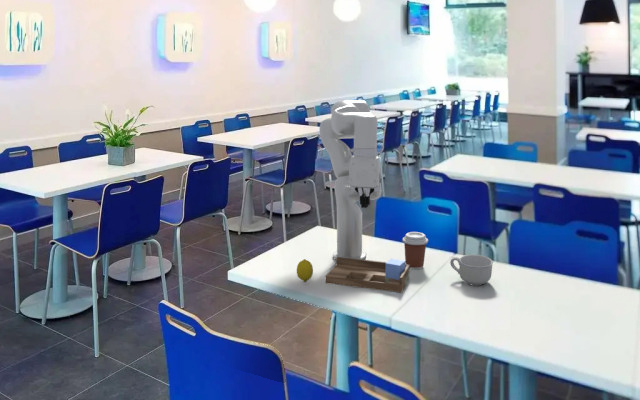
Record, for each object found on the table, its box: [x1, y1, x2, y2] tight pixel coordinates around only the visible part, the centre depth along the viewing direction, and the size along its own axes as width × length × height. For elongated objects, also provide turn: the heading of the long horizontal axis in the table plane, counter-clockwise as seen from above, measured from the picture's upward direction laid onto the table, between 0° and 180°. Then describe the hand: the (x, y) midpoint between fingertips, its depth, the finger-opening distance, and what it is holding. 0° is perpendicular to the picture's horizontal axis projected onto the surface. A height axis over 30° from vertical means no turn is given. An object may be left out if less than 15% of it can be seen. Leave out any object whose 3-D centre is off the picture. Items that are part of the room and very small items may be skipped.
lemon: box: [296, 259, 314, 283], centre depth 191 cm, size 6×6×8 cm
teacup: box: [449, 254, 494, 286], centre depth 190 cm, size 14×11×8 cm
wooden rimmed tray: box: [324, 257, 411, 293], centre depth 191 cm, size 13×26×5 cm, turn 70°
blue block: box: [385, 258, 406, 280], centre depth 188 cm, size 5×5×5 cm
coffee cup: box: [402, 231, 429, 270], centre depth 204 cm, size 9×9×12 cm
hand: (364, 206), depth 189 cm, fingers closed
